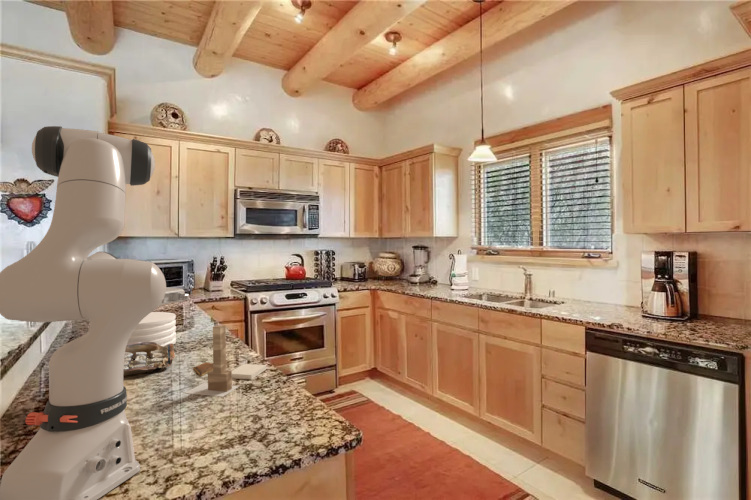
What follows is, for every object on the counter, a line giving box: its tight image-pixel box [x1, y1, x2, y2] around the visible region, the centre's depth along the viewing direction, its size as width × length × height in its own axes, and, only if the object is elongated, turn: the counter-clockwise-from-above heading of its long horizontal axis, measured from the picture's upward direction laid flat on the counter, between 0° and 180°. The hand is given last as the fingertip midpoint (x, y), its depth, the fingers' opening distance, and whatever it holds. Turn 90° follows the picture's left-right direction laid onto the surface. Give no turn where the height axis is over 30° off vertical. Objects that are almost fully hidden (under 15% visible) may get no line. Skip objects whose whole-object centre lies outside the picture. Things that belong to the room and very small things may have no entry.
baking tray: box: [123, 342, 176, 377], centre depth 136 cm, size 30×22×5 cm
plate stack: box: [127, 311, 177, 347], centre depth 164 cm, size 28×28×12 cm
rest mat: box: [184, 382, 240, 397], centre depth 113 cm, size 8×12×1 cm, turn 76°
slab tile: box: [231, 363, 267, 380], centre depth 127 cm, size 2×8×10 cm
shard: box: [193, 362, 213, 377], centre depth 130 cm, size 11×8×2 cm
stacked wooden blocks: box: [207, 324, 233, 392], centre depth 113 cm, size 2×6×18 cm, turn 76°
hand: (175, 299), depth 110 cm, fingers open, 8 cm apart
